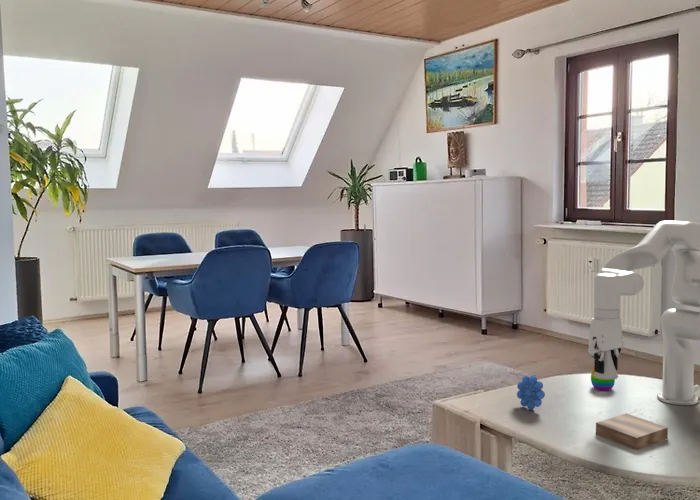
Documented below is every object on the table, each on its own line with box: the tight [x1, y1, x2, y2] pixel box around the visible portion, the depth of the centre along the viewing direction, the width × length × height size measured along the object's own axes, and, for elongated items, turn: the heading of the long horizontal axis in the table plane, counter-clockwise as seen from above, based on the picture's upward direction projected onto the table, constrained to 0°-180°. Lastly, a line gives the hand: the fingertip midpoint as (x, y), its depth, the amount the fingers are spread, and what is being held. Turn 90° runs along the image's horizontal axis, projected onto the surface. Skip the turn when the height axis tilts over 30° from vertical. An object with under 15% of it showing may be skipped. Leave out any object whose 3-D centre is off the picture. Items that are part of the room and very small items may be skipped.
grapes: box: [516, 375, 546, 411], centre depth 218 cm, size 12×7×12 cm, turn 32°
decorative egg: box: [590, 367, 616, 392], centre depth 237 cm, size 8×8×10 cm
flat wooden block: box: [595, 413, 669, 451], centre depth 194 cm, size 14×14×4 cm
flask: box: [594, 350, 619, 380], centre depth 202 cm, size 7×7×10 cm
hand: (605, 370), depth 202 cm, fingers closed on flask, 5 cm apart
